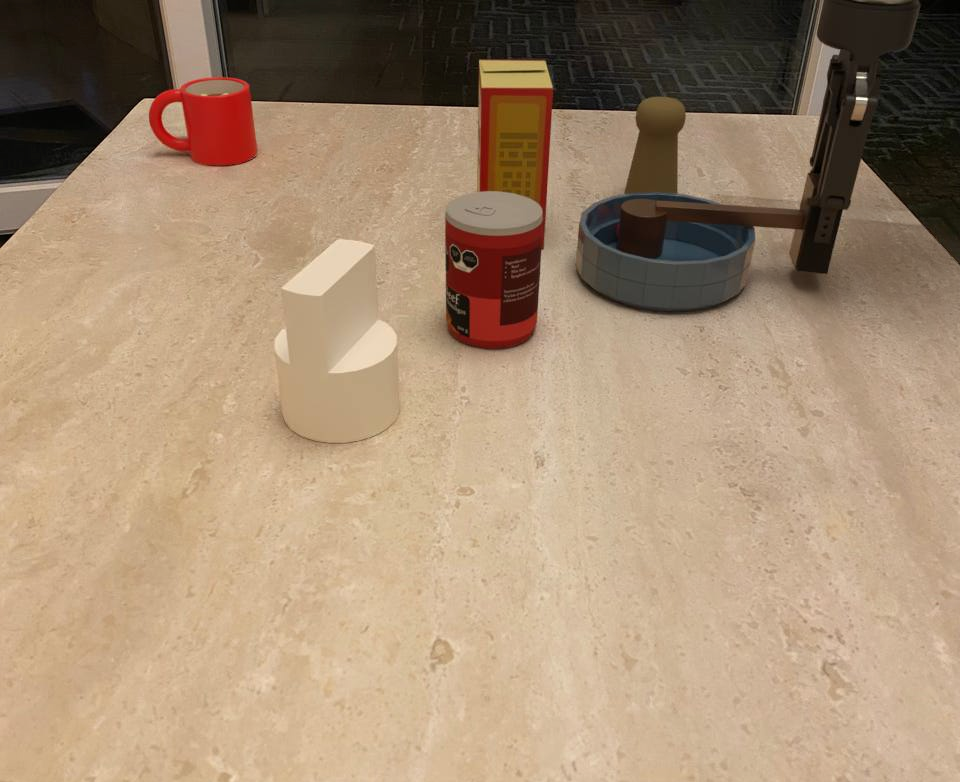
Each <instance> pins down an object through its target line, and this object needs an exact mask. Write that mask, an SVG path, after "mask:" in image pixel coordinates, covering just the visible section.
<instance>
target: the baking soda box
mask: <svg viewBox="0 0 960 782" xmlns="http://www.w3.org/2000/svg"><path fill="white" fill-rule="evenodd" d="M477 98H478V101H477V103H478V105H477V107H478V108H477V117H478V118H477V162H476V163H477V164H476V165H477V167H476V168H477V169H476V172H477V173H476V176H477V178H476V192H485V191H498V192H508V193H513V194H518V195H521V196H524V197H527V198H530V199H532V200H533V201H535V202H537V203H538V204H539V205H540V206H541V208H542V212H543V214H542V215H543V228H542V229H543V233H542V249H541V250H544V249H545V233H546V232H545V231H546V218H547V215H546V214H547V201H548V184H549V169H550V167H549V166H550V150H551V135H552V133H551V132H552V117H553V116H552V115H553V114H552V113H553V102H554V101H553V100H554V87H553V83H552V79H551V77H550V73H549V69H548V65H547V61H546V59H487V58H486V59H481V58H480V59H478V97H477Z"/></svg>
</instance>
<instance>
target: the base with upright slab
mask: <svg viewBox="0 0 960 782" xmlns="http://www.w3.org/2000/svg"><path fill="white" fill-rule="evenodd" d="M280 289H281V298H282V299H281V300H282V308H283V314H284V315H283V316H284V324H285V325H284V326H285V327H284V328H282V329H281V330H280V332H279V333H278V334H277V336H275V340H274V344H273V350H274V356H275V366H276V373H277V380H278V389H279V397H280V398H279V399H280V405H281V413H282V417H283V421H284V423H285V424H286V426H287V427H288V429H290V430H291V431H292V432H294V433H295V434H297V435H299V436H300V437H302V438H305V439H308V440H311V441H315V442H319V443H320V442H321V443H328V444H347V443H353V442H358V441H363V440H367V439H369V438H372V437H375V436H377V435H378V434H380V433H382V432H384V431H386V430H387V429H388V428H389V427H391V426H392V425H394V423H395V422H396V420H397V418H398V416H399V414H400V404H401V403H400V386H399V385H400V383H399V381H400V380H399V355H398V354H399V353H398V336H397V334H396V332H395V330H394V329H393V327H392V326H390V325H389V324H388V323H387V322H385V321H383V320H381V319H380V318H379V298H378V296H379V295H378V278H377V260H376V245H374V244H372V243H368V242H364V241H360V240H354V239H344V238H338V239H336V240H335V241H333V243H332V244H330V245H329V246H328V247H327V248H326V249H325V250H324V251H322V252H321V253H320V254H319V255H317V256H316V257H315V258H314V259H313V260H312V261H311V262H310V263H308V264H307V265H306V266H305V267H303V269H301V270H300V271H299V272H298V273H297V274H295V276H293V277H292V278H290V280H288V282H287V283H285V284H284V285H283V286H282V287H281V288H280Z"/></svg>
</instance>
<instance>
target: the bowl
mask: <svg viewBox="0 0 960 782" xmlns="http://www.w3.org/2000/svg"><path fill="white" fill-rule="evenodd" d="M632 199H650V200H655V201H673V202H688V203H704V204H720V205H723V204H722V203H719V202H717V201H713V200H711V199H707V198H703V197H697V196H693V195H690V194H689V195H688V194H683V193H677V194H674V193H663V192H644V193H629V194H624V193H623V194H618V195H611V196H608V197H606V198H603V199H600V200H599V201H595V202H593V203H591V205H589V206H588V207H587V208H586V209H584V210H583V211H582V212H581V215H580V219H579V222H578V232H577V242H576V243H577V245H576V255H575V256H576V257H575V267H576V270H577V272H578V274H579V276H580V279H582V280H583V282H584V283H586V284H587V285H589V286H590V287H591V288H592V289H593V290H595V291H596V292H597V293H599V294H600V295H602V296H604V297H606V298H607V299H610V300H612V301H614V302H617V303H620V304H623V305H626V306H630V307H634V308H639V309H643V310H650V311H658V312H659V311H660V312H689V311H691V312H692V311H699V310H701V309H703V310H704V309H707V308H712V307H715V306H717V305H719V304H722V303H724V302H726V301H727V300H729V299H731V298H733V297H736V296H737V295H739V294H740V293H741V291H742V290H743V288H744V287H745V286H746V284H748V279H749V274H750V268H751V263H752V258H753V254H754V249H755V245H756V244H755V243H756V229H755V227H753V226H738V225H723V224H707V223H692V222H676V221H667V223H666V230H665V237H664V244H663V251H662V255H661V256H660V257H659V258H657V259H648V258H644V257H640V256H636V255H631V254H627V253H624V252H621V251H619V250H617V249H616V247H617V239H618V238H617V235H616V230H617V226H618V224H619V221H620V213H621V205H622V204H623V203H624V202H625V201H628V200H632Z"/></svg>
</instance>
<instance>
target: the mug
mask: <svg viewBox="0 0 960 782" xmlns="http://www.w3.org/2000/svg"><path fill="white" fill-rule="evenodd" d="M251 95H252V94H251V87H250V84H249V83H248V82H247V81H245V80H243V79H240V78H236V77H225V76H215V77H213V76H212V77H211V76H210V77H203V78H197V79H192V80H191V81H188V82H185V83H184V84H182V85H181V86H180V88H174V89H173V88H172V89H168V90H165V91H162V92H161V93H160V94H158V95H157V96H156V97H155V98H154V99H153V101H152V102H151V105H150V107H149V110H148V121H149V126H150V129H151V131H152V132H153V134H154V136H155V137H156V138H157V140H158V141H159V142H160V143H162V145H164V146H165V147H167V148H169V149H170V150H171V149H172V150H174V151H178V152H189V155H190V159H191V158H192V159H193V160H194V161H193V160H192V159H191V160H192V161H193V162H195V163H197V162H198V163H197V164H199V163H201V164H200V165H203V164H206V165H205V166H208V165H230V166H232V165H231V164H237V165H239V164H238V163H241V164H243V163H242V162H245V161H247V162H249V161H248V160H249V159H251V158H253V157H254V156H255V155H256V154H257V152H258V145H257V144H258V143H257V138H256V129H255V119H254V112H253V105H252V104H253V103H252V96H251ZM174 103H181V106H182V112H183V118H184V123H185V130H186V137H187V138H179V137H176V136H174V135H173V134H170V132H169V131H168V130H167V129H166V128H165V126H164V123H163V112H164V110H165V109H166V108H167V107H168V106H169V105H171V104H174ZM257 155H258V154H257ZM253 159H254V158H253ZM245 163H246V162H245Z"/></svg>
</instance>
